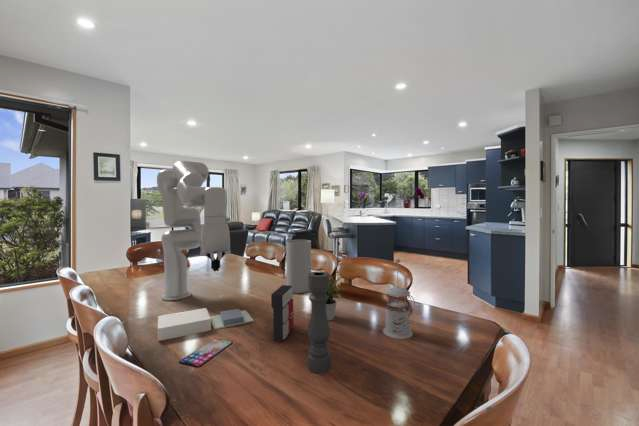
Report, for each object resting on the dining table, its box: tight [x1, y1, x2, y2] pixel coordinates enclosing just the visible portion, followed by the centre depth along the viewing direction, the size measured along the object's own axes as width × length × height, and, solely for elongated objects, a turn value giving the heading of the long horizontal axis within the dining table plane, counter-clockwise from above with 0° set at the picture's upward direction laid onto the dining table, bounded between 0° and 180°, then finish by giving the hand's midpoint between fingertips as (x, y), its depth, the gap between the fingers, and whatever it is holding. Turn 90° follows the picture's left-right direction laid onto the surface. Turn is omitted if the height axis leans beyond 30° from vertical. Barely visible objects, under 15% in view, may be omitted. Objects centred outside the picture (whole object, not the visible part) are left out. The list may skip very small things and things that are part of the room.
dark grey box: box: [270, 284, 294, 342], centre depth 95 cm, size 11×4×15 cm, turn 168°
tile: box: [219, 308, 243, 326], centre depth 107 cm, size 9×7×2 cm
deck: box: [157, 307, 212, 342], centre depth 100 cm, size 12×16×4 cm
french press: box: [382, 258, 416, 340], centre depth 96 cm, size 10×12×25 cm
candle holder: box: [306, 271, 332, 375], centre depth 75 cm, size 6×6×25 cm
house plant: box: [326, 275, 347, 321], centre depth 109 cm, size 14×14×16 cm
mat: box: [209, 309, 255, 330], centre depth 108 cm, size 12×14×1 cm
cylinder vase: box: [285, 239, 312, 294], centre depth 144 cm, size 12×12×25 cm
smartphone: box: [178, 338, 233, 369], centre depth 84 cm, size 8×1×15 cm
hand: (215, 270), depth 105 cm, fingers closed
